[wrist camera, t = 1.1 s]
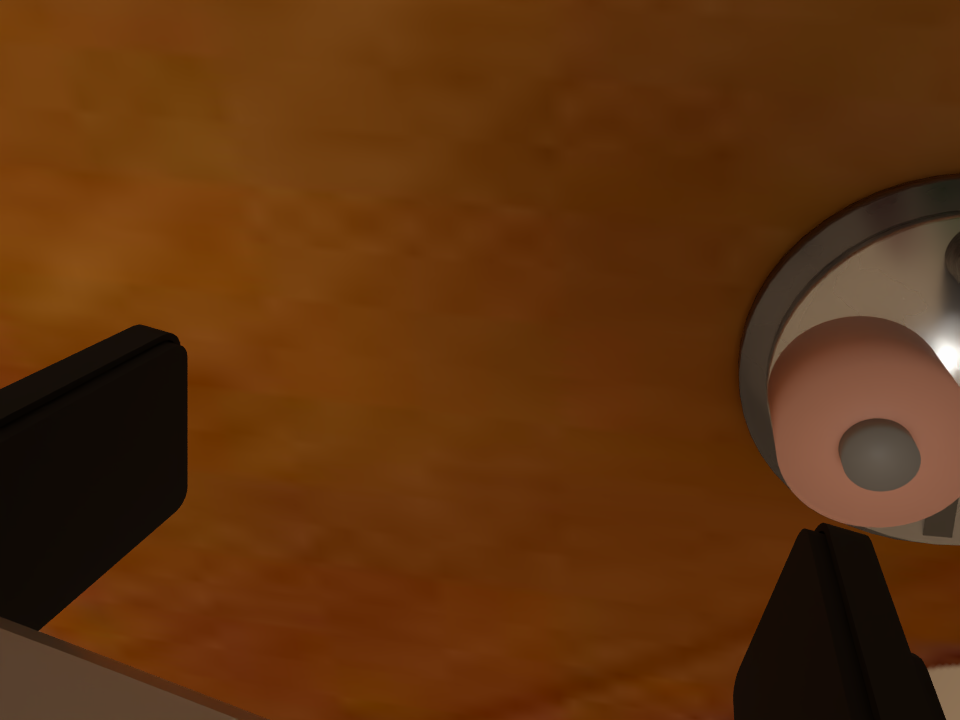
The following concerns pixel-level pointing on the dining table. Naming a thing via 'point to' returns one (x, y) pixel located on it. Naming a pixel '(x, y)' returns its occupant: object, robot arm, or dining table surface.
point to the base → (805, 265)
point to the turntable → (893, 313)
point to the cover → (866, 423)
